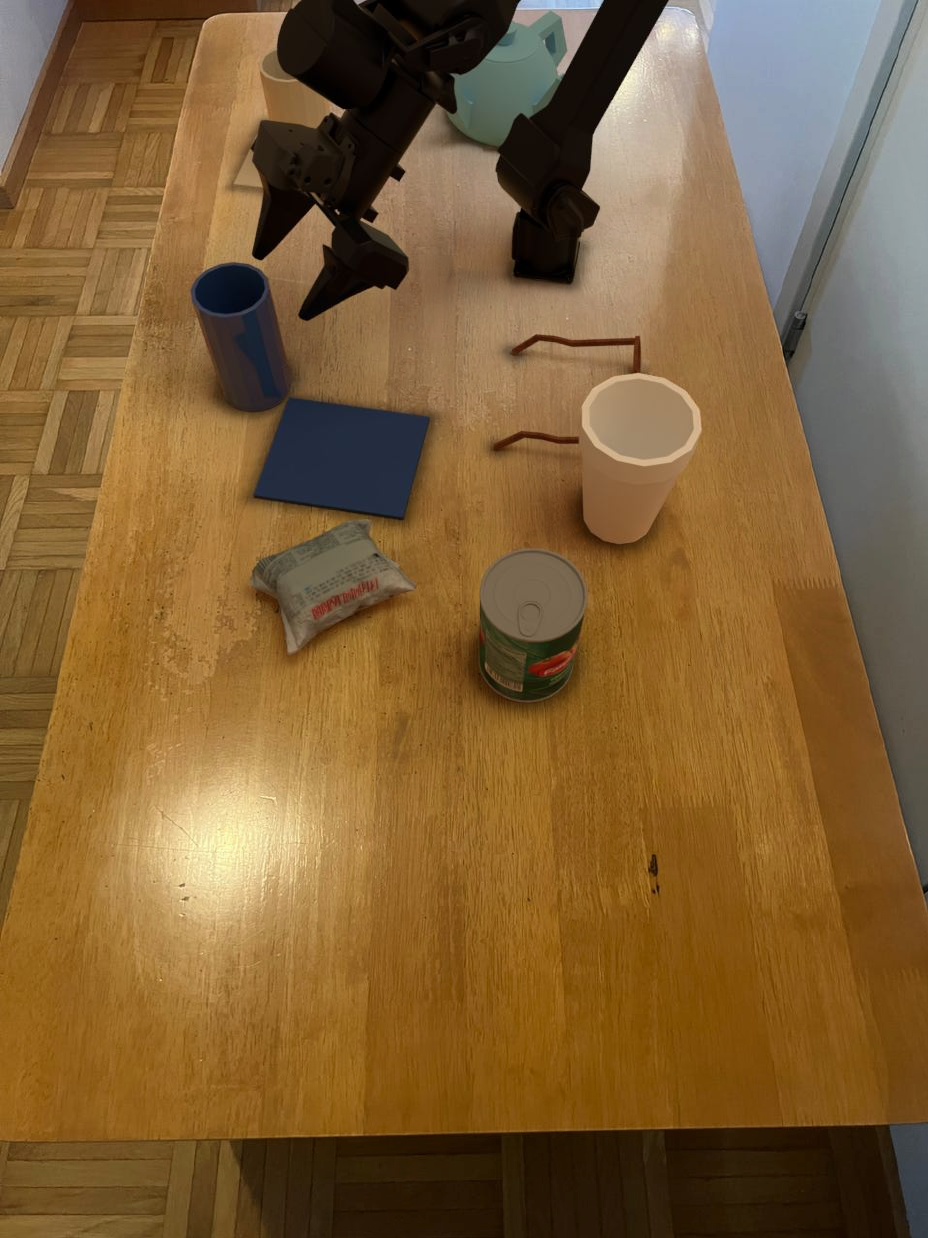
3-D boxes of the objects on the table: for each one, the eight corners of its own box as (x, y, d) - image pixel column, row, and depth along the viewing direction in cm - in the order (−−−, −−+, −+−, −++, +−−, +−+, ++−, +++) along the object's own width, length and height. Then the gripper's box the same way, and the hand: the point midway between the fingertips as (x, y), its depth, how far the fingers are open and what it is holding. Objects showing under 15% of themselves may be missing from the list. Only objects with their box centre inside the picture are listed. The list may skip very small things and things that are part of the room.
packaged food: (417, 603, 80) (414, 572, 75) (292, 666, 77) (281, 637, 73) (371, 531, 83) (365, 498, 79) (249, 589, 81) (237, 557, 76)
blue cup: (299, 364, 93) (278, 267, 83) (280, 416, 90) (256, 321, 79) (234, 356, 94) (204, 257, 83) (213, 406, 91) (180, 311, 80)
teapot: (567, 158, 109) (576, 66, 99) (438, 157, 109) (436, 65, 100) (563, 81, 116) (571, -12, 107) (442, 80, 116) (440, -13, 107)
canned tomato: (485, 612, 79) (488, 540, 70) (578, 625, 79) (593, 554, 69) (471, 696, 75) (471, 632, 66) (567, 710, 75) (582, 648, 65)
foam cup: (678, 486, 86) (710, 387, 74) (661, 568, 81) (692, 476, 70) (577, 464, 87) (593, 363, 76) (555, 544, 83) (569, 450, 71)
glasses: (631, 467, 87) (640, 432, 82) (493, 450, 88) (494, 415, 83) (640, 364, 93) (649, 326, 89) (511, 349, 94) (513, 311, 90)
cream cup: (341, 142, 110) (329, 47, 100) (327, 179, 107) (313, 84, 97) (286, 136, 110) (268, 41, 101) (270, 172, 107) (250, 77, 98)
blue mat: (429, 419, 90) (429, 416, 89) (403, 519, 84) (403, 517, 84) (289, 399, 91) (288, 396, 91) (254, 497, 85) (253, 494, 85)
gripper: (249, 25, 74) (160, 196, 81) (363, 149, 66) (254, 327, 73) (347, 91, 83) (259, 240, 90) (458, 207, 75) (352, 360, 82)
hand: (278, 287), depth 83 cm, fingers open, 9 cm apart
